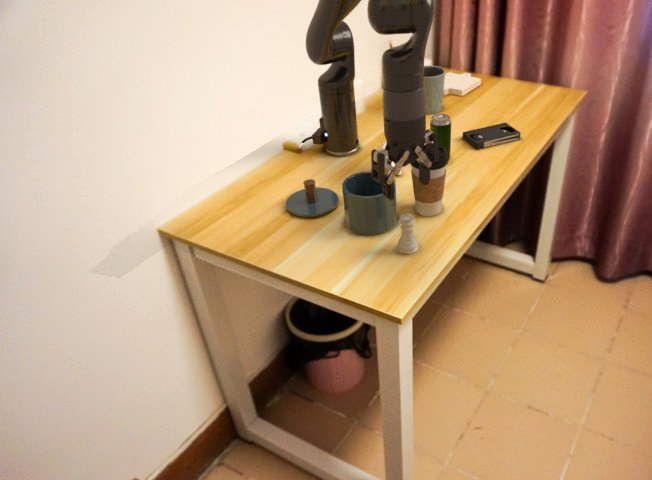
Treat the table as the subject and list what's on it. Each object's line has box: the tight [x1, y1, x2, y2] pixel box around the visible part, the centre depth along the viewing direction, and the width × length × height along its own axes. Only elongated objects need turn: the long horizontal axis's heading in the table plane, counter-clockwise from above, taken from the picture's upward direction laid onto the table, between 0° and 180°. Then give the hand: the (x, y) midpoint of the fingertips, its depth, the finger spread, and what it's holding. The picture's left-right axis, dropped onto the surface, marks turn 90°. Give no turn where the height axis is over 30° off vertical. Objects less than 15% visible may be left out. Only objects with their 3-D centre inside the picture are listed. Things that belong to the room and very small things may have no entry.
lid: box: [285, 178, 339, 218], centre depth 126 cm, size 12×12×6 cm
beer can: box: [429, 113, 452, 163], centre depth 140 cm, size 5×5×12 cm
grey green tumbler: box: [424, 65, 446, 115], centre depth 168 cm, size 10×10×12 cm
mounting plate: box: [443, 71, 482, 97], centre depth 186 cm, size 18×13×2 cm
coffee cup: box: [409, 144, 449, 217], centre depth 120 cm, size 8×8×15 cm
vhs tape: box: [462, 122, 521, 150], centre depth 152 cm, size 14×8×2 cm, turn 114°
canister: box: [341, 170, 398, 236], centre depth 119 cm, size 11×11×10 cm
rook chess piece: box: [397, 213, 420, 255], centre depth 111 cm, size 4×4×8 cm
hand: (406, 190), depth 104 cm, fingers open, 8 cm apart
